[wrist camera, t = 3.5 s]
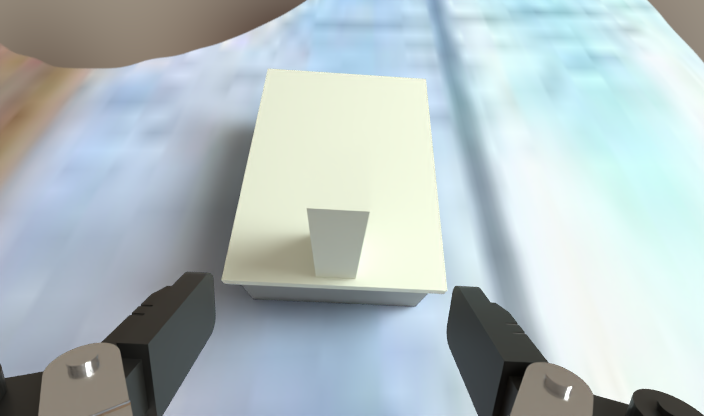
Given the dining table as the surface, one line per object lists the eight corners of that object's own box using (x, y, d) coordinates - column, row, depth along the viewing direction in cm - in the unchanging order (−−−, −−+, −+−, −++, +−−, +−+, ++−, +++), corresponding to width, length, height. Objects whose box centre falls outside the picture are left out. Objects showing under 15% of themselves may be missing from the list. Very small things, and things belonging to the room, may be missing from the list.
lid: (271, 86, 32) (245, -48, 22) (420, 96, 32) (458, -32, 23) (229, 288, 23) (154, 211, 13) (438, 298, 23) (515, 230, 13)
